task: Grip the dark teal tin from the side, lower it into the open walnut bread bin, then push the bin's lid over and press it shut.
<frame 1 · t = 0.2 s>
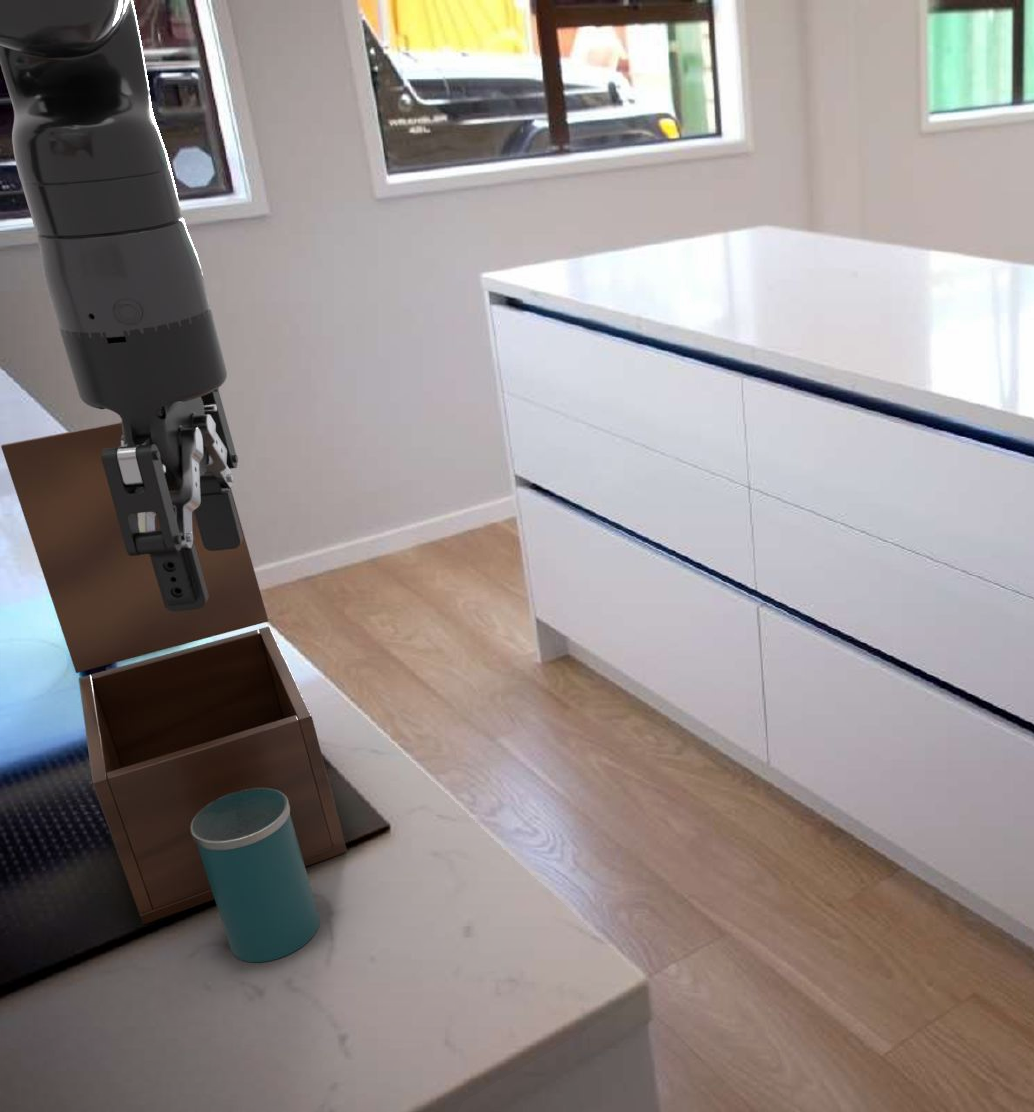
hand: (207, 576, 76), 21 cm above the worktop, tool pointing down, fingers open, 8 cm apart
lid: (142, 537, 88), point 19 cm above the worktop, hinge at 100.0°
milk carton: (137, 641, 117), on the worktop
tin: (275, 933, 79), on the worktop
bread bin: (231, 828, 89), on the worktop
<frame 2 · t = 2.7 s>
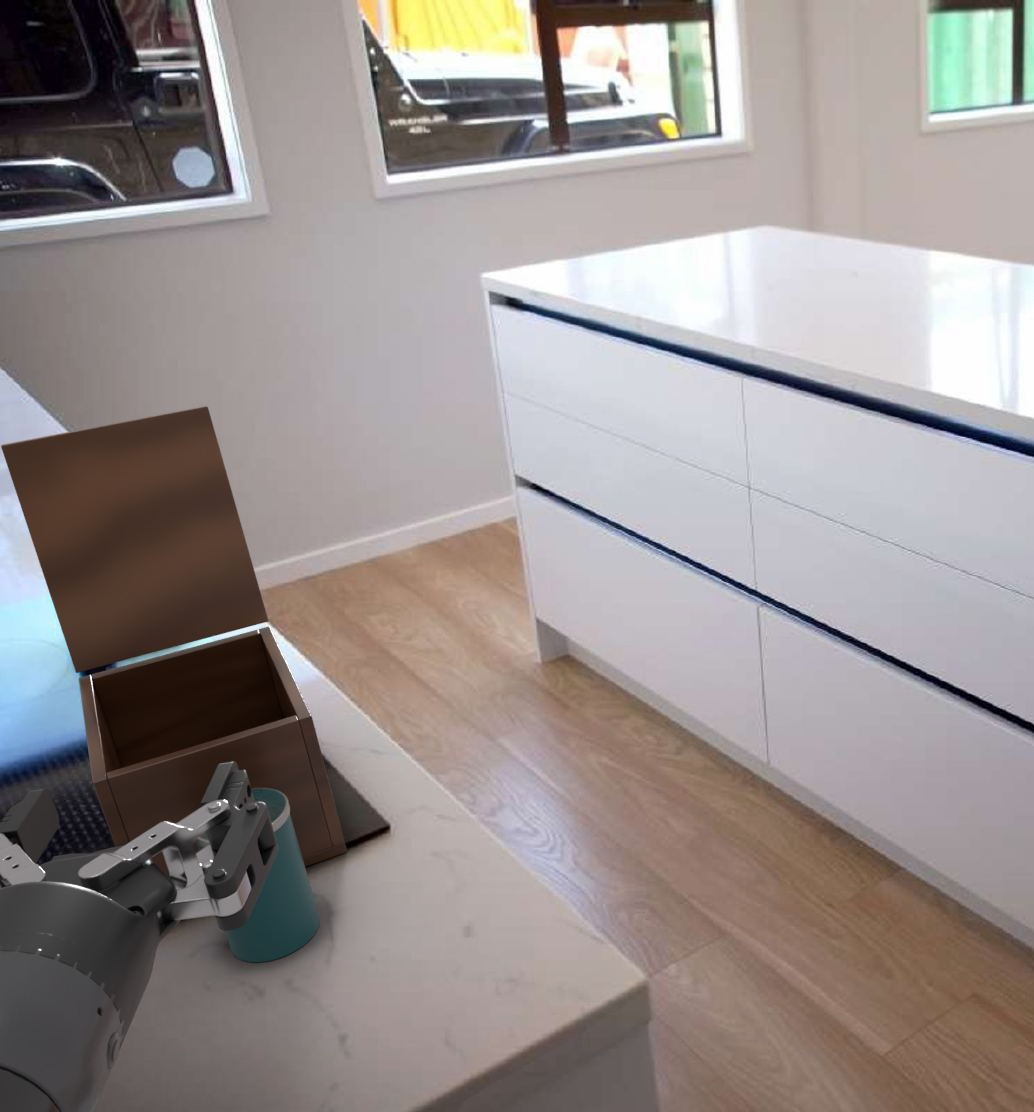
hand: (140, 791, 61), 18 cm above the worktop, tool horizontal, fingers open, 8 cm apart
nothing on the worktop moved.
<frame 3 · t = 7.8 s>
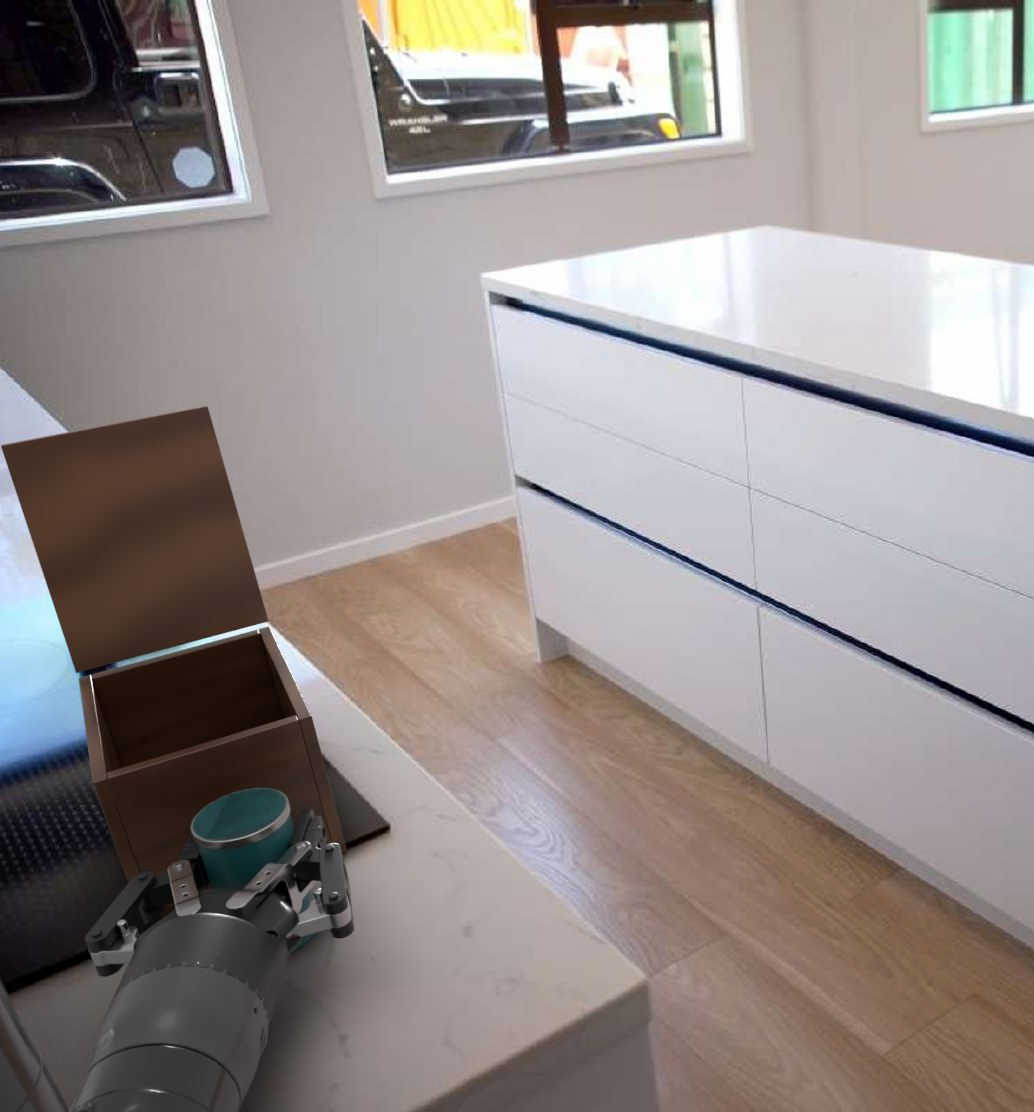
hand: (261, 829, 78), 6 cm above the worktop, tool horizontal, fingers closed on tin, 5 cm apart
tin: (275, 932, 79), on the worktop, touching gripper
everything else where it was.
when the fingers open (16 cm above the worktop, at t = 34.5 s): tin drops 8 cm, resting on bread bin.
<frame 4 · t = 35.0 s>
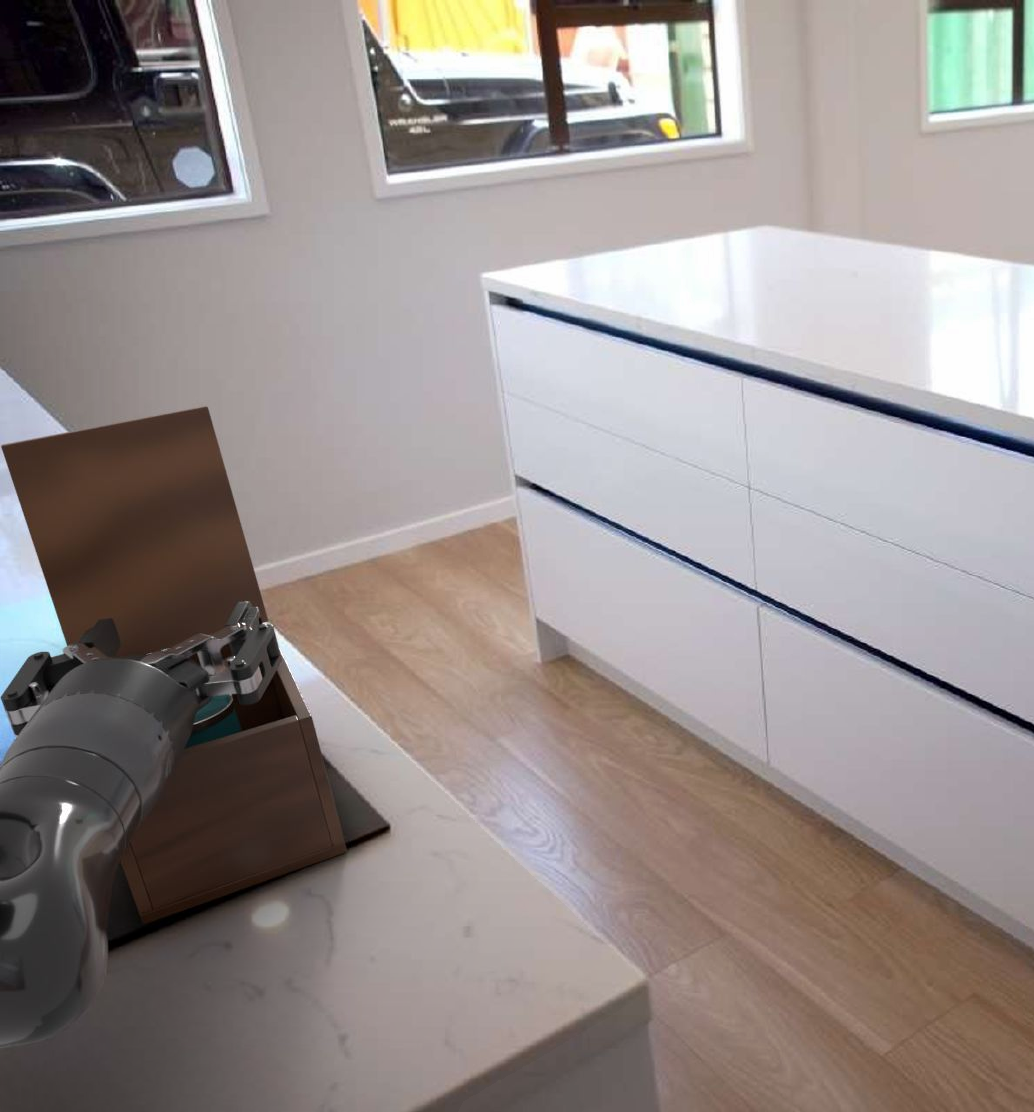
hand: (180, 622, 83), 16 cm above the worktop, tool horizontal, fingers open, 8 cm apart
tin: (230, 826, 87), point 1 cm above the worktop, tilted 6°, touching bread bin
everything else where it was.
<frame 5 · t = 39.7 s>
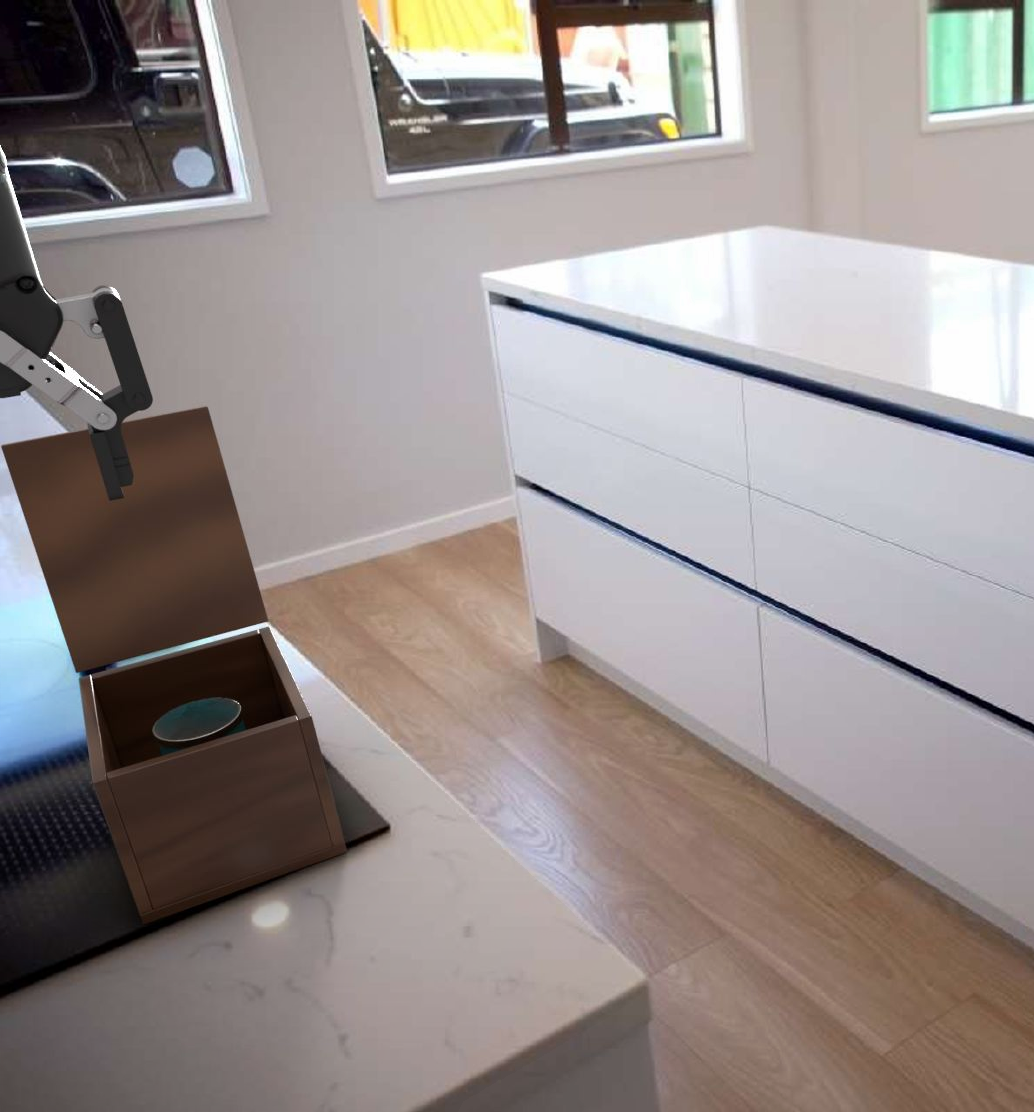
hand: (23, 514, 64), 30 cm above the worktop, tool pointing down, fingers open, 8 cm apart
tin: (231, 829, 87), point 1 cm above the worktop, touching bread bin
everything else where it was.
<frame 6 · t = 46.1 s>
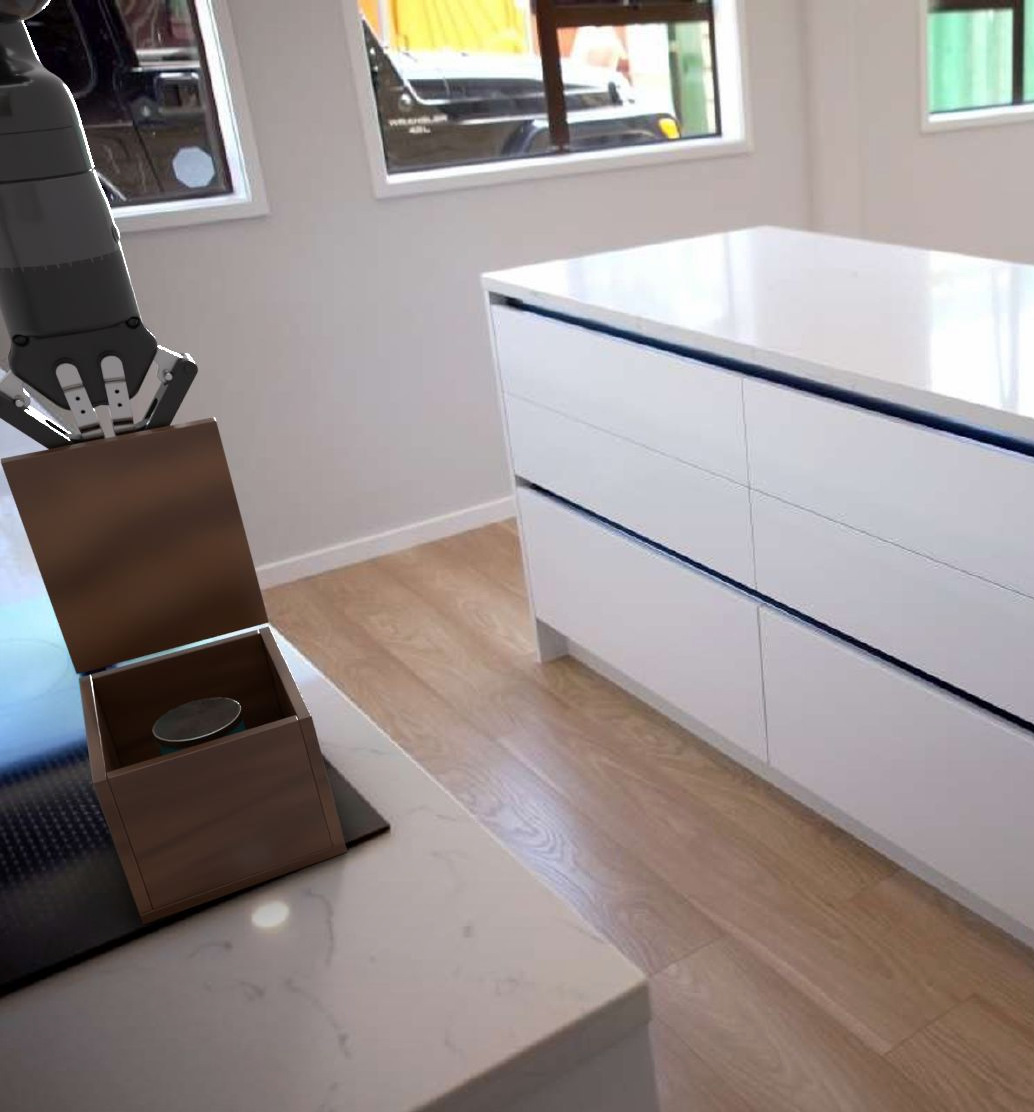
hand: (131, 505, 86), 22 cm above the worktop, tool pointing down, fingers closed
lid: (144, 546, 86), point 19 cm above the worktop, hinge at 84.4°, touching gripper
everything else where it was.
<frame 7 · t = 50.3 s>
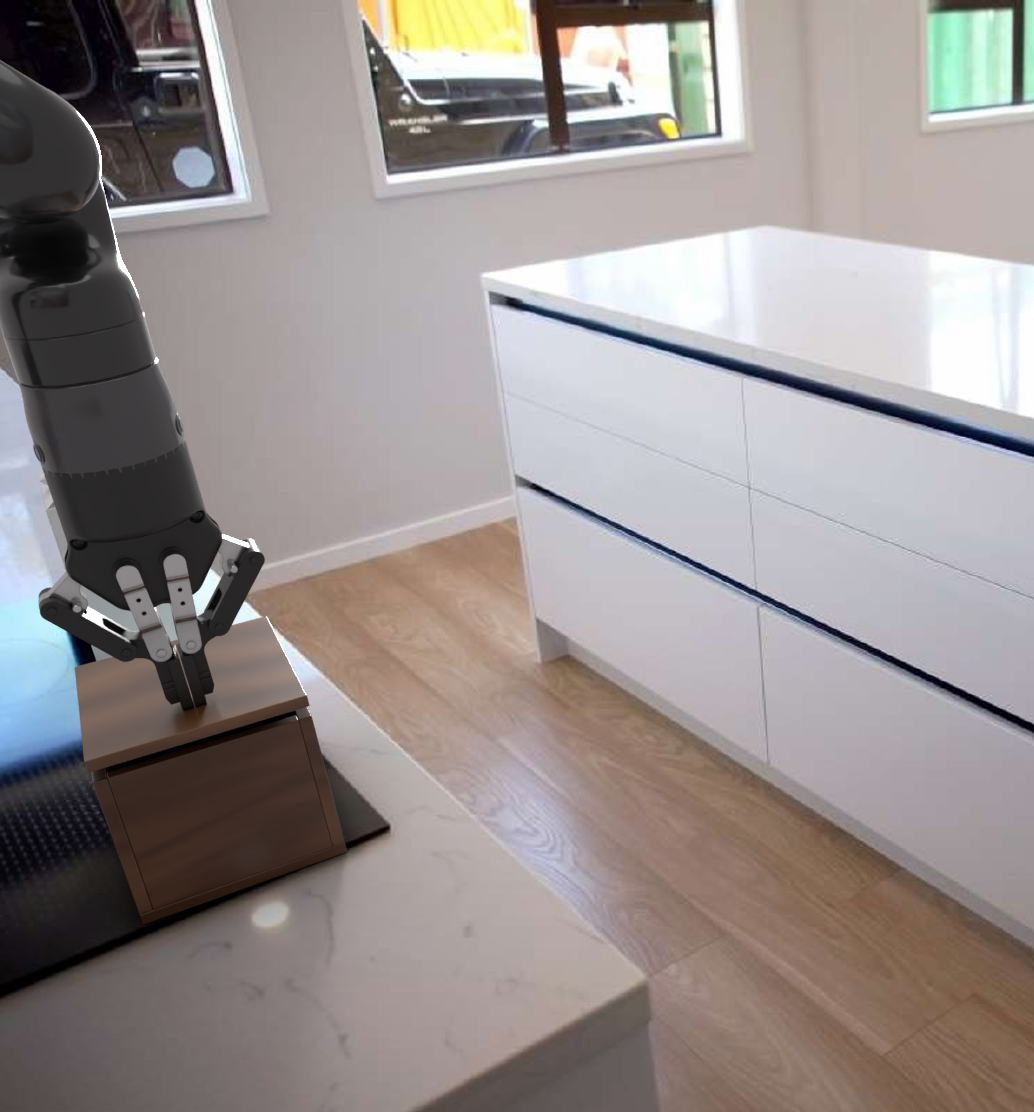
hand: (192, 701, 81), 12 cm above the worktop, tool pointing down, fingers closed
lid: (187, 685, 84), point 12 cm above the worktop, hinge at 3.2°, touching gripper
everything else where it was.
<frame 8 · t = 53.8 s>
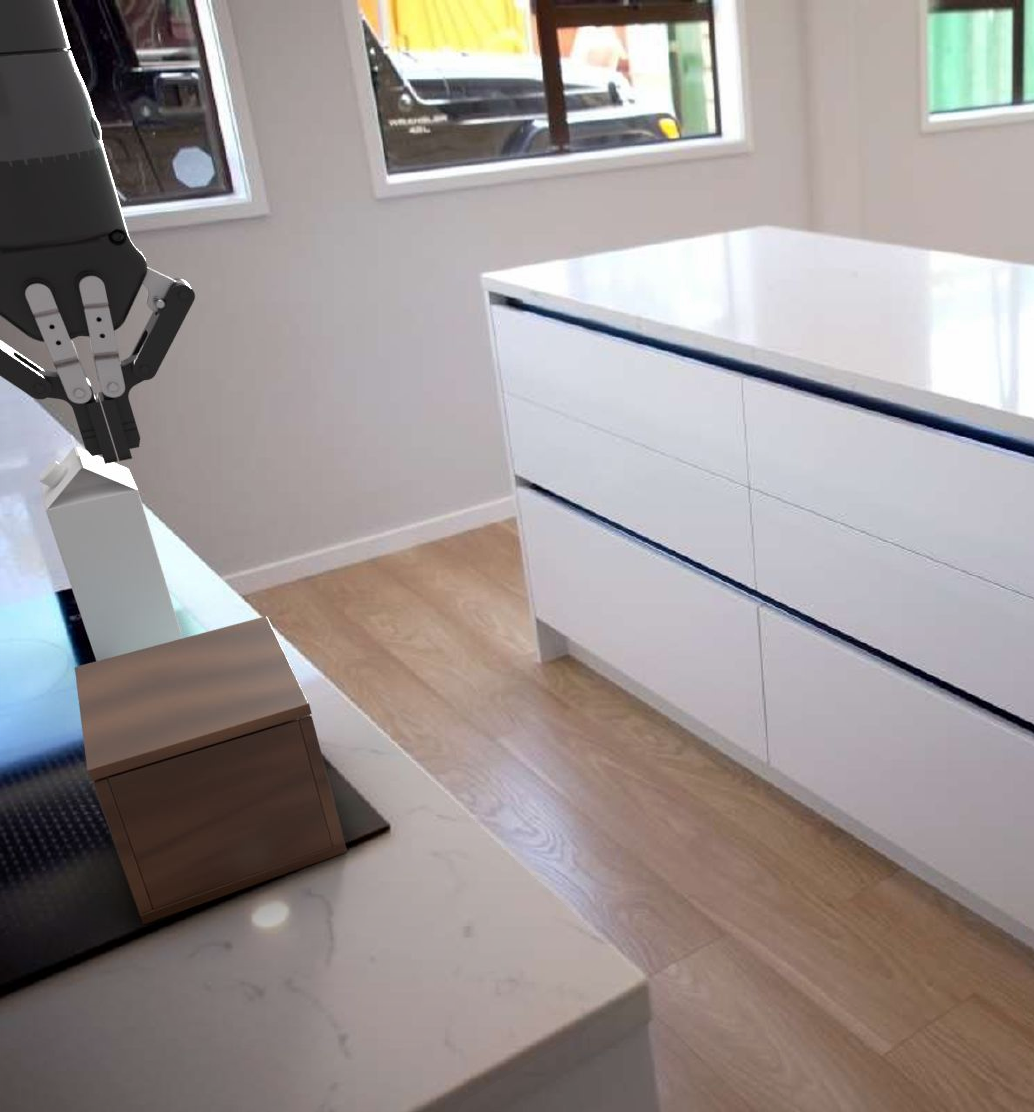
hand: (117, 458, 73), 29 cm above the worktop, tool pointing down, fingers closed
lid: (188, 689, 84), point 11 cm above the worktop, hinge at 1.1°
everything else where it was.
at the end: tin inside the target area in the bread bin (1.5 cm from its centre), point 0.8 cm above the bread bin's base; lid at +1° (first picture: +100°); the gripper is holding nothing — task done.
